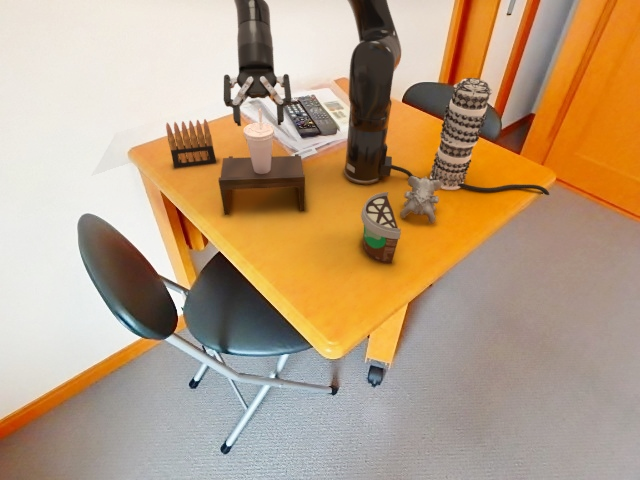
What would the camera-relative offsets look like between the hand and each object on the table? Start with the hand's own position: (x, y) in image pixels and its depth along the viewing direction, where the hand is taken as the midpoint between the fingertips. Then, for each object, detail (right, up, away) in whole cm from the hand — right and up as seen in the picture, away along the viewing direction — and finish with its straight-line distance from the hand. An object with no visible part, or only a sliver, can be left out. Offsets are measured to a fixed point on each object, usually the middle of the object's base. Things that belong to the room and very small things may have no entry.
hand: (259, 124), depth 85 cm
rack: (-1, -12, +12) cm, 17 cm away
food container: (+24, -27, -3) cm, 36 cm away
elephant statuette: (+35, -18, +7) cm, 40 cm away
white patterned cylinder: (+45, -10, +17) cm, 49 cm away
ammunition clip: (-20, -5, +19) cm, 28 cm away
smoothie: (0, -9, +4) cm, 10 cm away
